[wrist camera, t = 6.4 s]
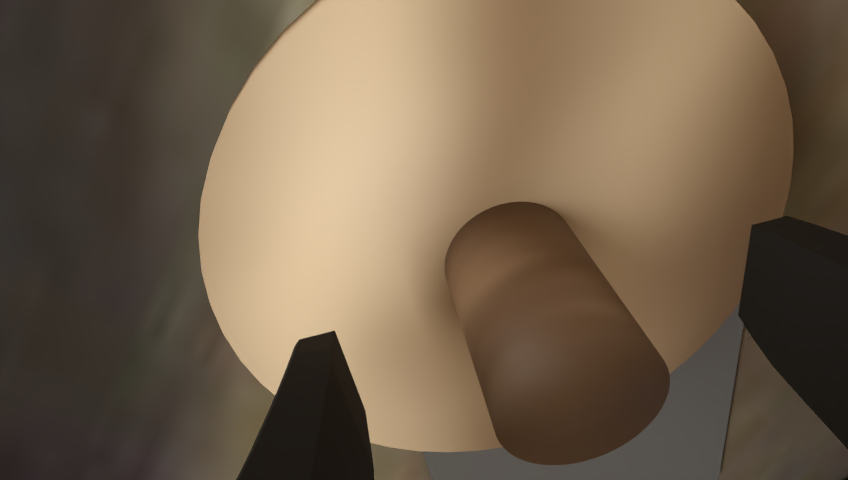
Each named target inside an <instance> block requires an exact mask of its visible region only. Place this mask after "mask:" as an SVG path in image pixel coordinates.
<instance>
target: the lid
mask: <svg viewBox="0 0 848 480" xmlns="http://www.w3.org/2000/svg"><path fill="white" fill-rule="evenodd" d="M793 158H794V143H793V119H792V114H791V109H790V104H789V99H788V94H787V89H786V85H785V82H784V80H783V77H782V74H781V72H780V69H779V66H778V64H777V61H776V59H775V56H774V53H773V52H772V50H771V48H770V47H769V45H768V43H767V42H766V40H765V38H764V37H763V35H762V33H761V32H760V30H759V28H758V27H757V25H756V23H755V22H754V20H753V19H752V18H751V17H750V16H749V15H748V14H747V13H746V11H745V10H744V9H743V8H742V7H741V6H740V5H739V4H738V2H737V1H736V0H316V1H315V2H314V3H313V4H312V5H311V6H310V7H309V8H307V9H306V10H305V11H304V12H303V13H302V14H301V15H300V16H299V17H298V18H297V19H295V20H294V21H293V22H292V23H291V24H290V25H289V26H288V27H287V28H286V29H285V30H284V31H283V32H282V33H281V34H280V36H279V37H278V38H277V39H276V40H275V42H274V43H273V44H272V45H271V47H270V48H269V49H268V50H267V51H266V53H265V54H264V55H263V56H262V58H261V59H260V60H259V61H258V62H257V64H256V65H255V66H254V68H253V70H252V71H251V73H250V75H249V77H248V78H247V80H246V82H245V83H244V85H243V87H242V88H241V90H240V92H239V93H238V95H237V97H236V98H235V100H234V102H233V103H232V106H231V108H230V111H229V113H228V116H227V118H226V121H225V123H224V125H223V128H222V130H221V133H220V135H219V138H218V140H217V143H216V145H215V148H214V151H213V153H212V156H211V159H210V163H209V167H208V172H207V176H206V180H205V184H204V188H203V193H202V197H201V207H200V221H199V235H198V237H199V248H200V258H201V269H202V275H203V279H204V282H205V286H206V290H207V294H208V298H209V301H210V305H211V307H212V309H213V312H214V314H215V316H216V318H217V321H218V323H219V325H220V327H221V330H222V332H223V334H224V336H225V337H226V339H227V340H228V342H229V343H230V345H231V346H232V348H233V350H234V351H235V353H236V354H237V356H238V357H239V359H240V360H241V361H242V363H243V364H244V365H245V366H246V367H247V368H248V369H249V370H250V372H251V373H252V374H253V375H254V376H255V377H256V378H257V379H258V381H259V382H260V383H261V384H262V385H264V386H265V387H266V388H267V389H268V390H269V391H271V392H272V393H273V394H274V395H276V393H277V390H278V388H279V385H280V383H281V380H282V378H283V375H284V373H285V370H286V368H287V365H288V362H289V360H290V357H291V354H292V352H293V349H294V346H295V345H296V343H297V342H298V340H299V339H303V338H307V337H311V336H315V335H319V334H323V333H327V332H331V331H335V332H336V335H337V338H338V340H339V343H340V345H341V348H342V351H343V353H344V356H345V359H346V361H347V364H348V366H349V369H350V372H351V374H352V377H353V379H354V382H355V385H356V387H357V390H358V393H359V395H360V398H361V400H362V403H363V406H364V408H365V411H366V418H367V424H368V431H369V438H370V443H374V444H378V445H382V446H386V447H391V448H399V449H406V450H414V451H427V452H464V451H480V450H487V449H494V448H502V447H503V448H504V449H505V450H506V451H508V452H509V453H510V454H512V455H513V456H515V457H517V458H519V459H521V460H524V461H526V462H530V463H534V464H541V465H567V464H574V463H579V462H583V461H587V460H590V459H594V458H597V457H599V456H602V455H604V454H607V453H609V452H611V451H613V450H615V449H617V448H619V447H621V446H622V445H624V444H626V443H627V442H629V441H630V440H632V439H633V438H635V437H636V436H637V435H638V434H640V433H641V432H642V431H643V430H644V429H645V428H646V427H647V426H648V425H649V424H650V423H651V422H652V421H653V420H654V418H655V417H656V416H657V415H658V413H659V412H660V410H661V409H662V407H663V405H664V403H665V401H666V398H667V395H668V392H669V386H670V375H669V374H670V373H672V372H673V371H674V370H675V369H676V368H678V367H679V366H680V365H681V364H682V363H684V362H685V361H686V360H687V359H688V358H689V357H691V356H692V355H693V354H694V353H695V352H696V351H697V350H698V349H699V348H700V347H701V346H702V345H703V344H704V343H705V342H706V341H707V340H708V339H709V338H710V337H711V336H712V335H713V334H714V333H715V332H716V331H717V330H718V329H719V327H720V326H721V325H722V324H723V322H724V321H725V320H726V319H727V318H728V316H729V315H730V314H731V313H732V311H733V310H734V309H735V308H736V307H737V305H738V304H739V302H740V299H741V292H742V286H743V279H744V272H745V266H746V259H747V253H748V246H749V240H750V233H751V226H752V225H753V224H757V223H761V222H765V221H769V220H773V219H777V218H781V217H783V214H784V210H785V206H786V202H787V198H788V194H789V190H790V184H791V175H792V167H793Z"/></svg>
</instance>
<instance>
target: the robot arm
mask: <svg viewBox="0 0 848 480" xmlns="http://www.w3.org/2000/svg"><path fill="white" fill-rule="evenodd" d="M738 316H739V317H740V319H741V321H742V322H743V324H744V325H745V327H746V328H747V330H748V331H749V333H750V334H751V336H752V337H753V339H754V340H755V342H756V343H757V345H758V346H759V347H760V349H761V350H762V352H763V353H764V354H765V356H766V357H767V359H768V360H769V361H770V363H771V364H772V365H773V366H774V368H775V369H776V370H777V371H778V372H779V373H780V375H781V376H782V377H783V378H784V379H785V380H786V381H787V382H788V384H789V385H790V386H791V387H792V388H793V389H794V390H795V391H796V393H797V394H798V395H799V396H800V397H801V398H802V399H803V400H804V401H805V403H806V404H807V405H808V406H809V407H810V408H811V409H812V410H813V411H814V412H815V414H816V415H817V416H818V417H819V418H820V419H821V420H822V421H823V422H824V423H825V425H826V426H827V427H828V428H829V429H830V430H831V431H832V432H833V433H834V434H835V436H836V437H837V438H838V439H839V440H840V441H841V442H842V443H843V444H844V445H845V447H846V448H847V449H848V236H847V235H844V234H841V233H838V232H835V231H832V230H829V229H826V228H824V227H821V226H818V225H815V224H811V223H808V222H805V221H802V220H799V219H795V218H792V217H788V216H785V217H781V218H777V219H773V220H769V221H765V222H761V223H757V224H753V225H752V226H751V233H750V240H749V246H748V253H747V259H746V266H745V272H744V279H743V286H742V292H741V299H740V305H739V312H738ZM236 480H374V468H373V460H372V453H371V445H370V438H369V431H368V424H367V418H366V411H365V408H364V406H363V403H362V400H361V398H360V395H359V393H358V390H357V387H356V385H355V382H354V379H353V377H352V374H351V372H350V369H349V366H348V364H347V361H346V359H345V356H344V353H343V351H342V348H341V345H340V343H339V340H338V338H337V335H336V332H335V331H331V332H327V333H323V334H319V335H315V336H311V337H307V338H303V339H299V340H298V342H297V343H296V345H295V346H294V349H293V352H292V354H291V357H290V360H289V362H288V365H287V368H286V370H285V373H284V375H283V378H282V380H281V383H280V385H279V388H278V390H277V393H276V395H275V397H274V400H273V402H272V404H271V407H270V409H269V412H268V414H267V416H266V418H265V420H264V423H263V425H262V427H261V429H260V431H259V434H258V436H257V438H256V440H255V442H254V445H253V447H252V449H251V451H250V453H249V455H248V457H247V460H246V462H245V464H244V466H243V468H242V470H241V472H240V473H239V475H238V477H237V479H236Z"/></svg>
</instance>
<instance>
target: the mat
mask: <svg viewBox="0 0 848 480" xmlns="http://www.w3.org/2000/svg"><path fill="white" fill-rule="evenodd" d="M739 305H740V302H739V304H738V305H737V307H736V308H735V309H734V310H733V311H732V313H731V314H730V315H729V316H728V318H727V319H726V320H725V321H724V322H723V324H722V325H721V326H720V327H719V329H718V330H717V331H716V332H715V333H714V334H713V335H712V336H711V337H710V338H709V339H708V340H707V341H706V342H705V343H704V344H703V345H702V346H701V347H700V348H699V349H698V350H697V351H696V352H695V353H694V354H693V355H692V356H691V357H689V358H688V359H687V360H686V361H685V362H684V363H682V364H681V365H680V366H679V367H678V368H676V369H675V370H674V371H673V372H672V373H670V374H669V375H670V386H669V392H668V395H667V398H666V401H665V403H664V405H663V407H662V409H661V410H660V412H659V413H658V415H657V416H656V417H655V418H654V420H653V421H652V422H651V423H650V424H649V425H648V426H647V427H646V428H645V429H644V430H643V431H642V432H641V433H640V434H638V435H637V436H636V437H635V438H633V439H632V440H630V441H629V442H627V443H626V444H624V445H622V446H621V447H619V448H617V449H615V450H613V451H611V452H609V453H607V454H604V455H602V456H599V457H597V458H594V459H590V460H587V461H583V462H579V463H574V464H567V465H541V464H534V463H530V462H526V461H524V460H521V459H519V458H517V457H515V456H513V455H512V454H510V453H509V452H508V451H506V450H505V449H504V448H503V447H502V448H494V449H487V450H480V451H464V452H427V451H423V453H424V457H425V460H426V463H427V466H428V469H429V472H430V476H431V479H432V480H717V479H719V474H720V468H721V461H722V455H723V449H724V443H725V437H726V431H727V425H728V418H729V412H730V406H731V400H732V394H733V388H734V381H735V375H736V369H737V363H738V357H739V351H740V344H741V338H742V332H743V326H744V324H743V322H742V321H741V319H740V317H739V316H738V312H739Z"/></svg>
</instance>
